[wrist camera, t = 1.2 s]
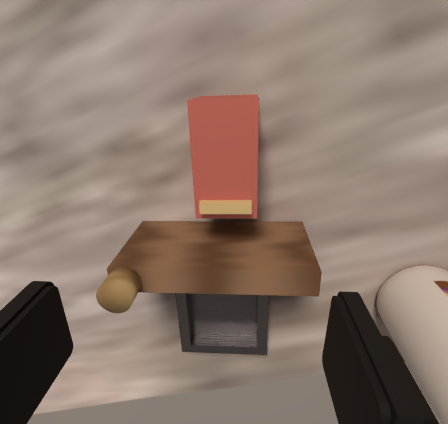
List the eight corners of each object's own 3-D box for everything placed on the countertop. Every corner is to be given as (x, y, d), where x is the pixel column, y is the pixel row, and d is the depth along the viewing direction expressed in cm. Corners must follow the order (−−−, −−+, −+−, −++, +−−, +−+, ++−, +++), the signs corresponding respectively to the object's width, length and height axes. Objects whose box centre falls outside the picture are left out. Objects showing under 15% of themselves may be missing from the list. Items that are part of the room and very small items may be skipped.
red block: (256, 94, 24) (259, 99, 18) (255, 190, 27) (257, 222, 21) (201, 96, 24) (185, 101, 18) (206, 190, 27) (194, 221, 21)
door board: (302, 219, 28) (329, 288, 19) (300, 243, 29) (324, 319, 20) (142, 219, 29) (93, 283, 20) (145, 241, 30) (99, 312, 21)
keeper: (268, 245, 29) (269, 256, 27) (265, 339, 34) (266, 354, 32) (175, 244, 30) (171, 255, 28) (185, 337, 35) (182, 351, 33)
